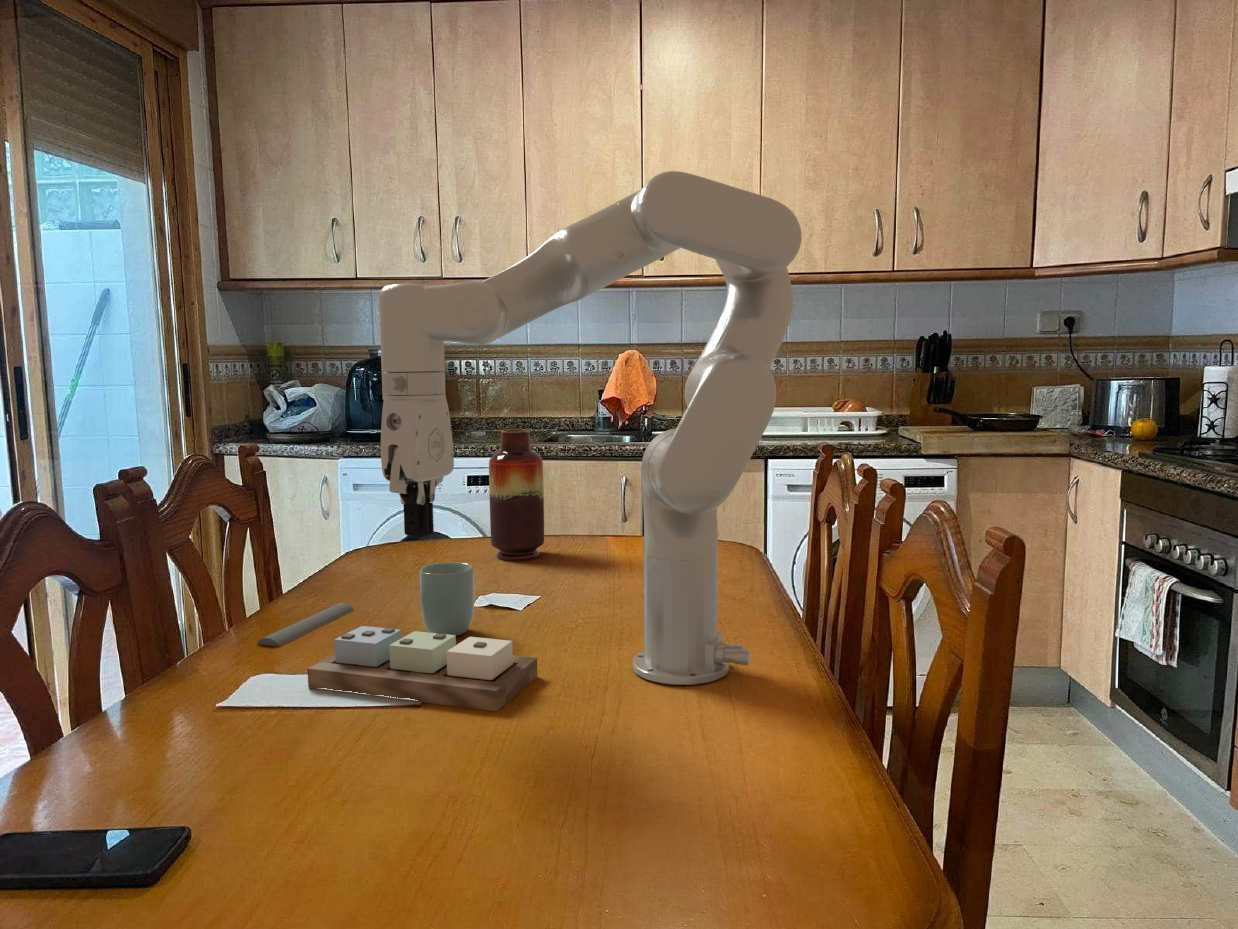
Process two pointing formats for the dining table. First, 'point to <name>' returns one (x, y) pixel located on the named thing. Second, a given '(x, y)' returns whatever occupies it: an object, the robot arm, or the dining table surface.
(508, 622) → the dining table surface
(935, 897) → the dining table surface
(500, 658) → the tile
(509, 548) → the vase
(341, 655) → the tile
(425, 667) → the tile
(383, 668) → the board
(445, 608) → the cup
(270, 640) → the gray half cylinder
